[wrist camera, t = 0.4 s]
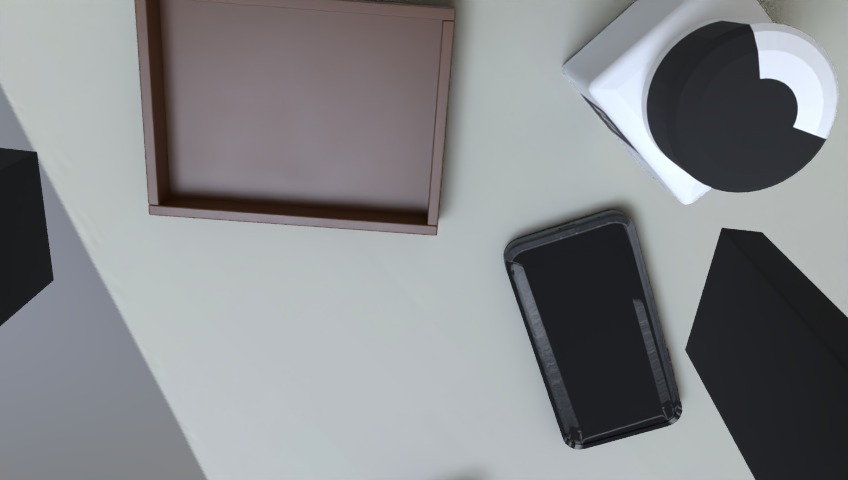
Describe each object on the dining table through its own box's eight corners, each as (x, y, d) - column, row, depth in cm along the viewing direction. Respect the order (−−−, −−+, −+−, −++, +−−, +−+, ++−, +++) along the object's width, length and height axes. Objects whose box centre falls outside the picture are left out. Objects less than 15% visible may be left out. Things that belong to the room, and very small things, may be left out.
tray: (151, -17, 37) (132, -17, 35) (454, 7, 37) (456, 8, 35) (164, 202, 41) (148, 215, 39) (436, 222, 42) (436, 236, 39)
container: (642, 169, 40) (732, 250, 28) (558, 68, 38) (615, 108, 26) (756, 76, 38) (906, 121, 26) (673, -35, 36) (793, -43, 24)
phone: (567, 453, 46) (500, 251, 41) (565, 442, 47) (498, 244, 42) (687, 420, 45) (632, 209, 40) (681, 410, 46) (627, 203, 41)
